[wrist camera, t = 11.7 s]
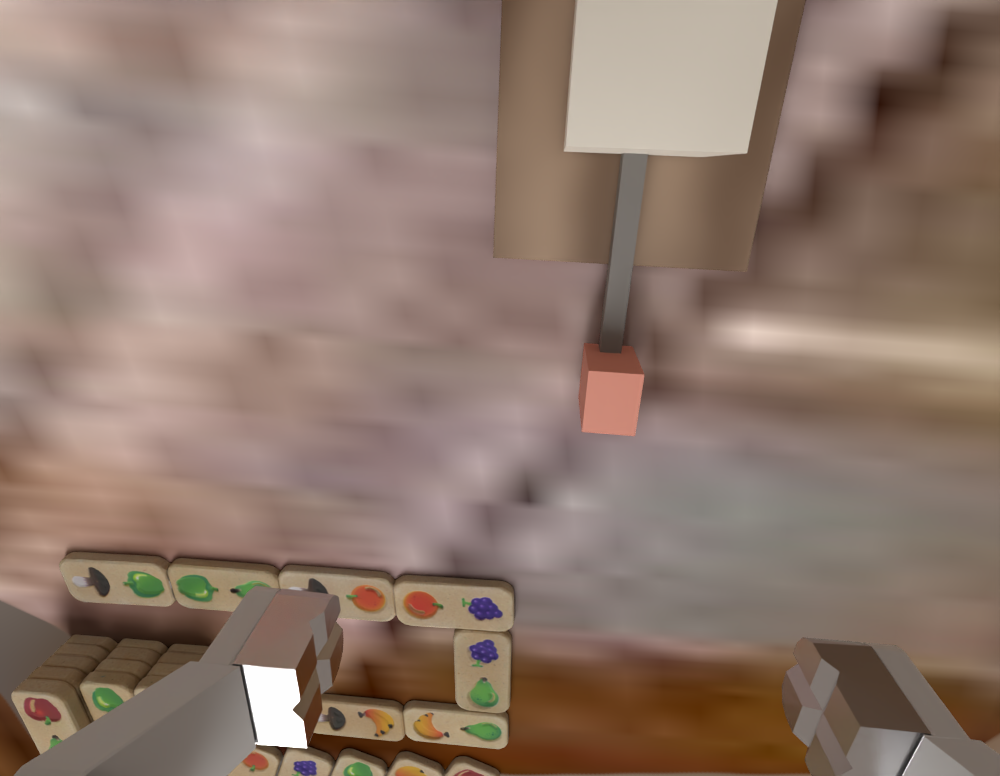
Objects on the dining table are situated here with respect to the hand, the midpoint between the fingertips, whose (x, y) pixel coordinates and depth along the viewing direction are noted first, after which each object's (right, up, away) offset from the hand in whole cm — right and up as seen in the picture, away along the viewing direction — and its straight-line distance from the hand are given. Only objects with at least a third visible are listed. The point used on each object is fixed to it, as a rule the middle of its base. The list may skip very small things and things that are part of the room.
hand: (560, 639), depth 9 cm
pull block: (+5, +13, +15) cm, 20 cm away
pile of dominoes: (-17, -20, +33) cm, 42 cm away
